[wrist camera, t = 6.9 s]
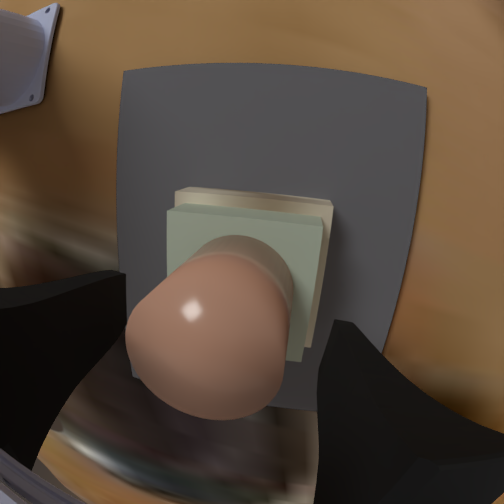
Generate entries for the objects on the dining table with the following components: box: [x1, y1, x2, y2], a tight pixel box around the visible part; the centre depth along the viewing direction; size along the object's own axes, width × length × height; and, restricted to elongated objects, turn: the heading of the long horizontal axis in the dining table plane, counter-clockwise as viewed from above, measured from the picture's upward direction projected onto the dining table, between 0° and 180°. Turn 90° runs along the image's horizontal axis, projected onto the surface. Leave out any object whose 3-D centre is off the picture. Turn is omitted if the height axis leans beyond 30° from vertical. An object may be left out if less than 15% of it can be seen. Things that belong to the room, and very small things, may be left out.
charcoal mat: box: [116, 63, 427, 411], centre depth 17 cm, size 16×20×1 cm
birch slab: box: [175, 187, 334, 348], centre depth 16 cm, size 7×7×2 cm
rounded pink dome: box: [125, 235, 294, 420], centre depth 10 cm, size 4×4×5 cm
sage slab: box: [167, 203, 323, 362], centre depth 14 cm, size 6×6×2 cm
